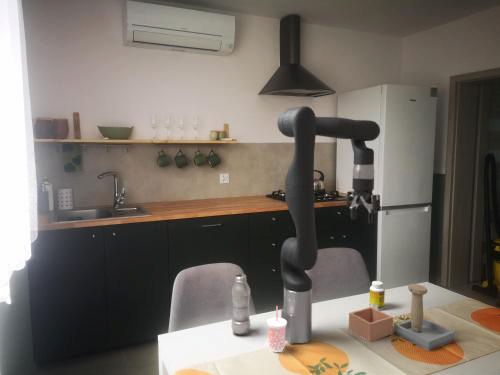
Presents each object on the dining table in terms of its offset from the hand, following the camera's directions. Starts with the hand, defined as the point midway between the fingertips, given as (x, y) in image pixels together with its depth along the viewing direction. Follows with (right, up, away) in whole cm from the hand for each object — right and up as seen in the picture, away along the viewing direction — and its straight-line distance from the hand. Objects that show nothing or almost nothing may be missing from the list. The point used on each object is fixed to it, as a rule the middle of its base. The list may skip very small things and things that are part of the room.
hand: (362, 221), depth 135 cm
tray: (+17, -37, -12) cm, 43 cm away
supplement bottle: (+9, -35, +11) cm, 38 cm away
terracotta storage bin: (0, -37, -9) cm, 38 cm away
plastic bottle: (-44, -38, -9) cm, 59 cm away
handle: (+15, -36, -10) cm, 41 cm away
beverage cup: (-33, -39, -20) cm, 54 cm away
